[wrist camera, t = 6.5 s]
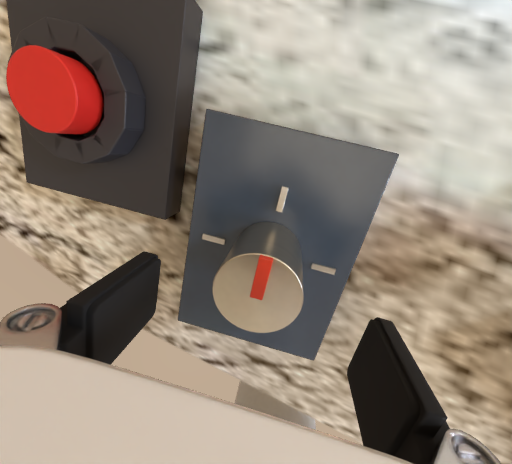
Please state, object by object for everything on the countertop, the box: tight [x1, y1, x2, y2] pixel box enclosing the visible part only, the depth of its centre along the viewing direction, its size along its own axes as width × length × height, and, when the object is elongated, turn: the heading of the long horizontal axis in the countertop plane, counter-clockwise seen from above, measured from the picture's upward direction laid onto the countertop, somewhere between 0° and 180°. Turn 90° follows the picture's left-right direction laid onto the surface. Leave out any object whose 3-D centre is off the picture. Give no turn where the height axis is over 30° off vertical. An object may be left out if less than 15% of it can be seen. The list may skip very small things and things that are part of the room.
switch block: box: [6, 0, 203, 219], centre depth 15 cm, size 12×10×4 cm
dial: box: [212, 222, 304, 333], centre depth 13 cm, size 4×4×5 cm
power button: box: [6, 45, 104, 134], centre depth 12 cm, size 4×4×2 cm
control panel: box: [178, 109, 399, 360], centre depth 16 cm, size 14×10×3 cm
